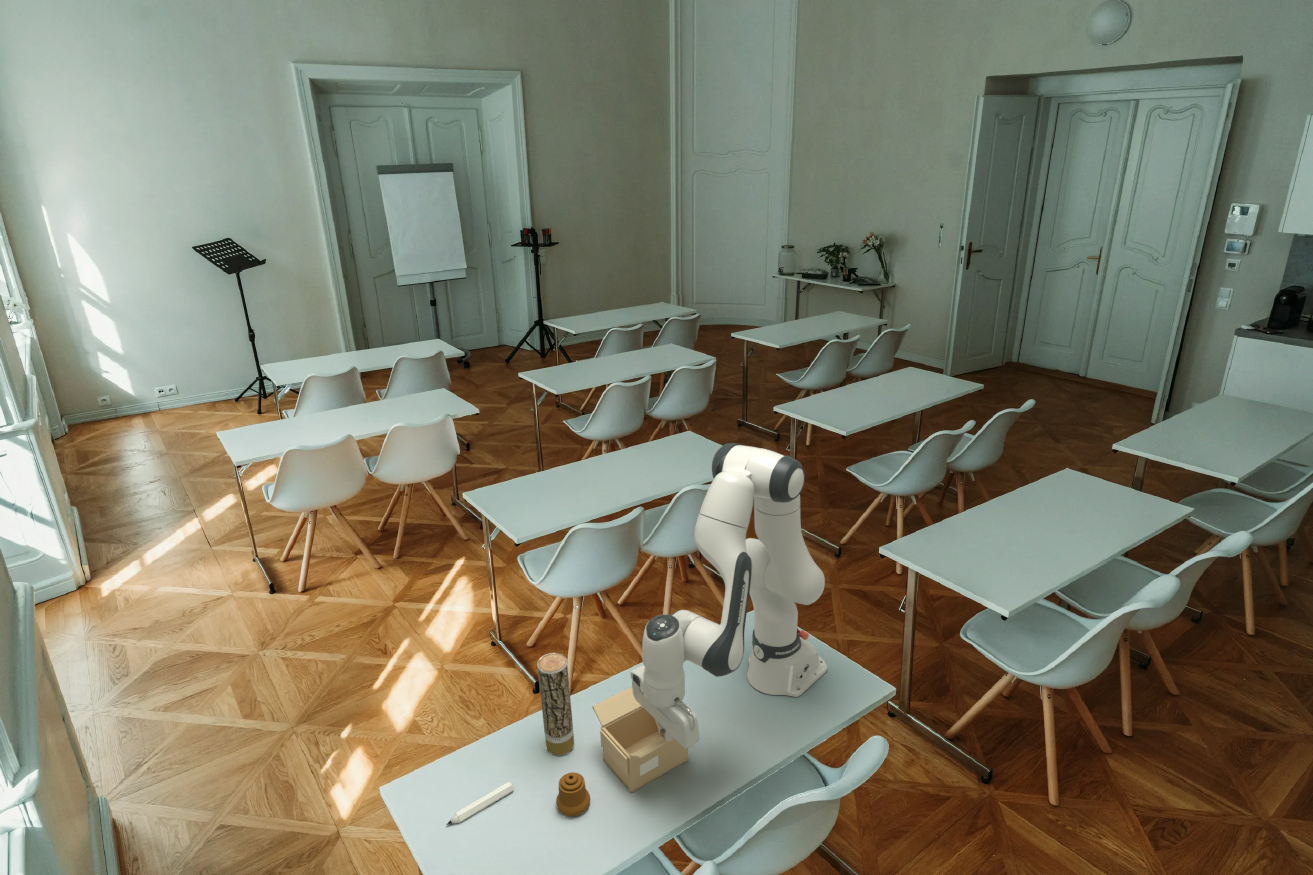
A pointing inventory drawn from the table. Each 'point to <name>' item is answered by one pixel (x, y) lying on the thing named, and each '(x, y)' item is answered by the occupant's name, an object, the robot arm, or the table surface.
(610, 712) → the flap far
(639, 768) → the carton
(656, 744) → the flap near
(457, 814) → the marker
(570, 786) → the ornamental finial
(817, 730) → the table surface
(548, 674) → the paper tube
